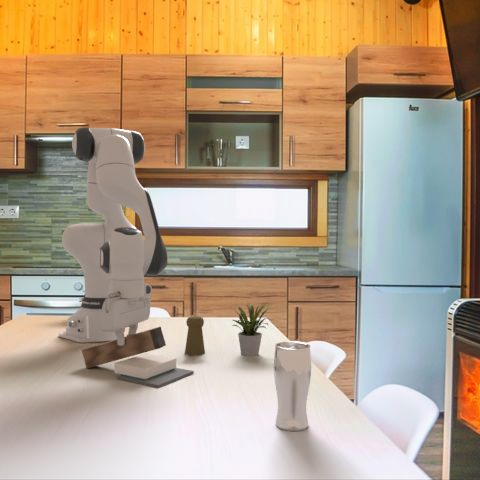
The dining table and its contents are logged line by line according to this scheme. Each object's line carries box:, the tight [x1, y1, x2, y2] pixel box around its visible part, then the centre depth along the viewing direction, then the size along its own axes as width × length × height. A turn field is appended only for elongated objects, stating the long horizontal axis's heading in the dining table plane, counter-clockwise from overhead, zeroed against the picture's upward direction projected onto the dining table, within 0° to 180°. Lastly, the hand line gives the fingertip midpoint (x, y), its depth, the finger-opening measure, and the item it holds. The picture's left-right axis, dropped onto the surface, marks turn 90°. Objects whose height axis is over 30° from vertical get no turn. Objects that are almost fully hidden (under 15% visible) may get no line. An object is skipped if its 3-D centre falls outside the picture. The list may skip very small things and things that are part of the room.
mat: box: [116, 367, 195, 389], centre depth 122 cm, size 13×14×1 cm
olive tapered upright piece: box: [184, 315, 206, 356], centre depth 147 cm, size 6×6×11 cm
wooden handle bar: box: [81, 326, 167, 369], centre depth 128 cm, size 22×4×5 cm, turn 75°
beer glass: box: [273, 341, 312, 432], centre depth 92 cm, size 7×7×15 cm
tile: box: [113, 352, 177, 380], centre depth 124 cm, size 3×12×10 cm
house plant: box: [230, 300, 277, 358], centre depth 146 cm, size 14×14×16 cm
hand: (126, 343), depth 127 cm, fingers closed on wooden handle bar, 3 cm apart
